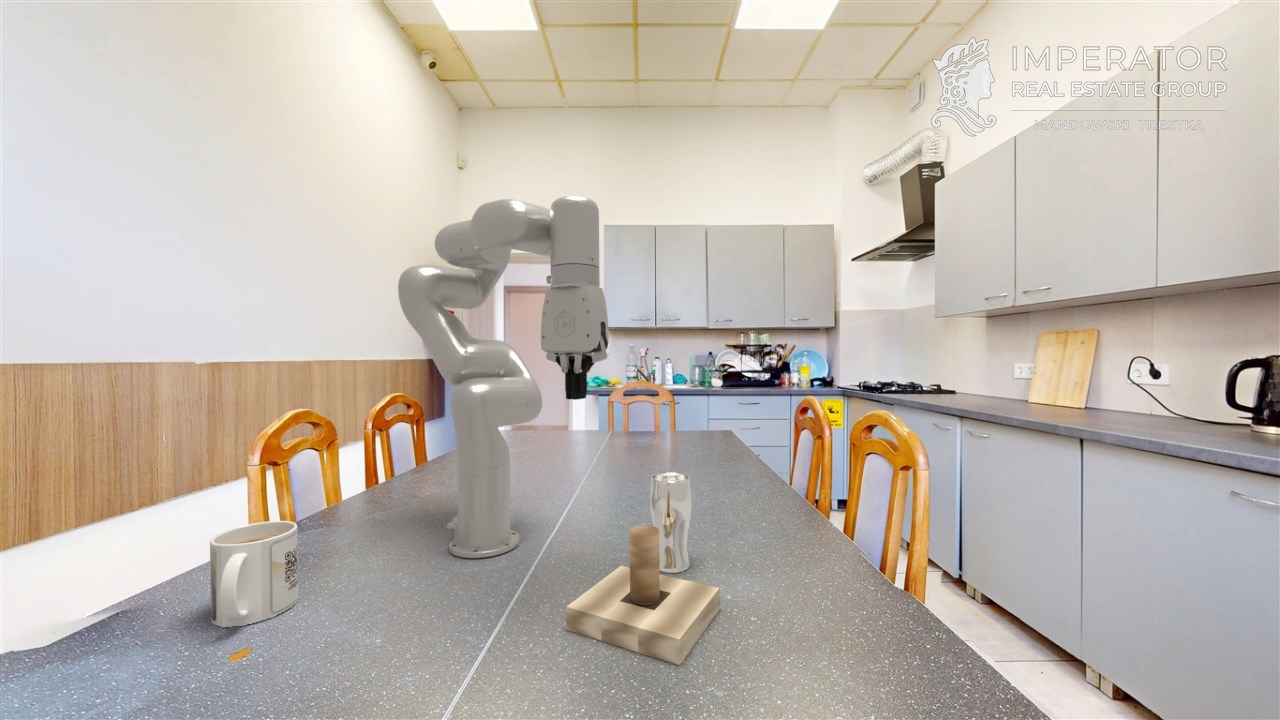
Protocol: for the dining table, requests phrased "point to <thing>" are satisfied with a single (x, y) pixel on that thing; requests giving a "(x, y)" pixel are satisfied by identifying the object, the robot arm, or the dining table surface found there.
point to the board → (645, 615)
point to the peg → (644, 566)
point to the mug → (253, 572)
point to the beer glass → (671, 519)
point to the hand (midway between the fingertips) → (576, 398)
